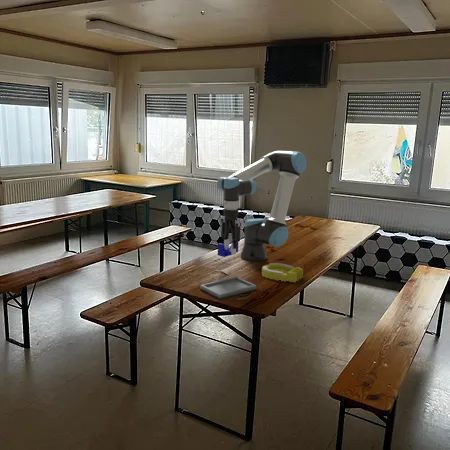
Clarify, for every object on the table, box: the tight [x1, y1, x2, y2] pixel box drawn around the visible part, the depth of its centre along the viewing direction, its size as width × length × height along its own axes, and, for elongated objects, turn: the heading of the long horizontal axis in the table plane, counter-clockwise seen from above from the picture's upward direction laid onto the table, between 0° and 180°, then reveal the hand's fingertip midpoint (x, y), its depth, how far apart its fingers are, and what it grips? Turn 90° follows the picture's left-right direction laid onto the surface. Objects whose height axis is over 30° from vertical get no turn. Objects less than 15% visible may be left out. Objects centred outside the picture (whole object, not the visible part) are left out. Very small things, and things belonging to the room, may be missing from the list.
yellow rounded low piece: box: [261, 262, 304, 283], centre depth 237 cm, size 16×21×5 cm
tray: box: [199, 276, 257, 300], centre depth 215 cm, size 22×15×2 cm
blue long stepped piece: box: [217, 242, 239, 258], centre depth 232 cm, size 12×4×6 cm, turn 135°
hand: (230, 253), depth 233 cm, fingers closed on blue long stepped piece, 5 cm apart
